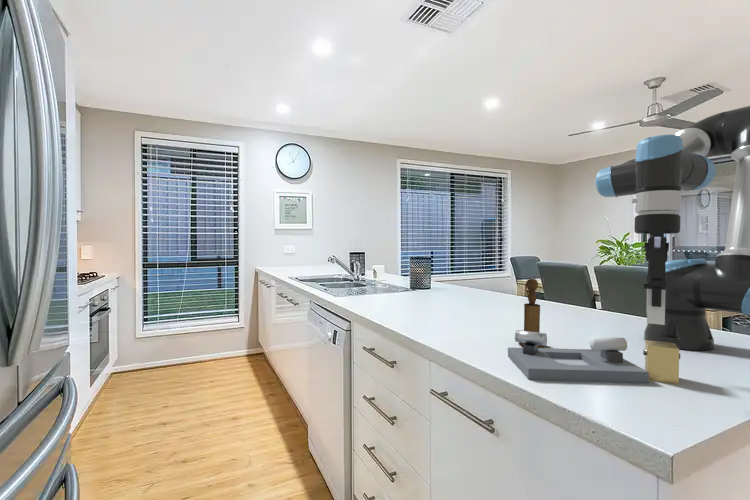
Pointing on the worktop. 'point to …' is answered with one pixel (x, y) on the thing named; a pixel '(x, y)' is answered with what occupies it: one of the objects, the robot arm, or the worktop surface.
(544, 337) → the shaft
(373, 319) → the worktop surface
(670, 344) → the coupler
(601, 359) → the grey frame with rollers
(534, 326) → the brown tall knobbed post
